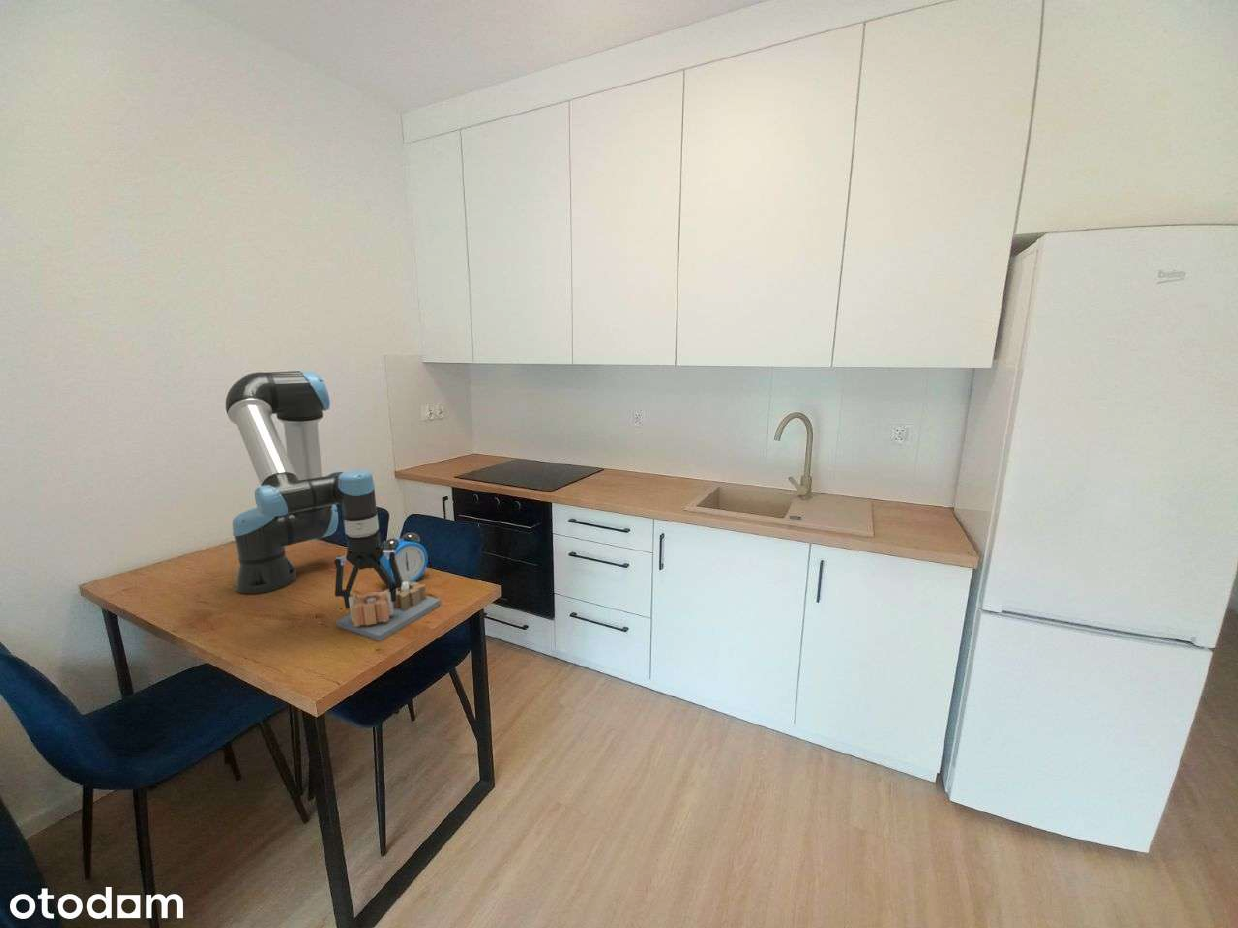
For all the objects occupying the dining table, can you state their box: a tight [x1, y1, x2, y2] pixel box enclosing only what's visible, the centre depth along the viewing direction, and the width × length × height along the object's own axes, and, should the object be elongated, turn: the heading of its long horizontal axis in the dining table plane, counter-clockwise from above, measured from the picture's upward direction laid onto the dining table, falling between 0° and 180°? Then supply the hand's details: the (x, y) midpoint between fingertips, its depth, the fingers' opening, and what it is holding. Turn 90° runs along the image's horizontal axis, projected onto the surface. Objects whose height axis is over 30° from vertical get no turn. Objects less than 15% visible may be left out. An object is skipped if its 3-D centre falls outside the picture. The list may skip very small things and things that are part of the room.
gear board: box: [335, 580, 442, 642], centre depth 131 cm, size 16×20×7 cm
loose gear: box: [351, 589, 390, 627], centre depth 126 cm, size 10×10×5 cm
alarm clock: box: [380, 531, 429, 583], centre depth 150 cm, size 13×6×15 cm, turn 143°
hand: (373, 615), depth 127 cm, fingers closed on loose gear, 8 cm apart
